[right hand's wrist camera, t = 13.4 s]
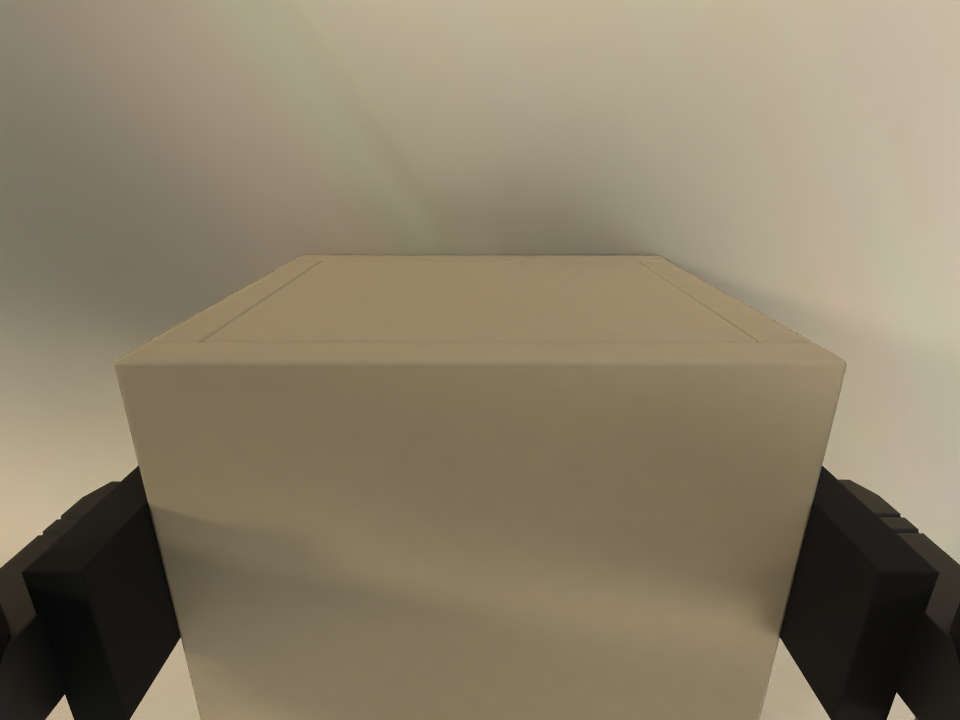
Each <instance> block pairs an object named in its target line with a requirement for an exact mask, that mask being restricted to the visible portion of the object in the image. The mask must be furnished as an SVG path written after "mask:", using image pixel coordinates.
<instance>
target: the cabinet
mask: <svg viewBox="0 0 960 720" xmlns="http://www.w3.org/2000/svg"><path fill="white" fill-rule="evenodd" d="M115 369H116V373H117V377H118V381H119V386H120V390H121V394H122V398H123V402H124V406H125V410H126V414H127V418H128V422H129V427H130V431H131V435H132V439H133V443H134V447H135V451H136V455H137V459H138V463H139V468H140V472H141V476H142V480H143V484H144V488H145V492H146V496H147V500H148V504H149V509H150V513H151V517H152V521H153V525H154V529H155V533H156V537H157V541H158V546H159V550H160V554H161V558H162V562H163V566H164V570H165V574H166V578H167V582H168V587H169V591H170V595H171V599H172V603H173V607H174V611H175V615H176V619H177V623H178V628H179V632H180V636H181V640H182V644H183V648H184V652H185V656H186V660H187V664H188V669H189V673H190V677H191V681H192V685H193V689H194V693H195V697H196V701H197V705H198V710H199V714H200V718H201V720H759V718H760V714H761V710H762V706H763V702H764V698H765V694H766V690H767V686H768V682H769V678H770V674H771V670H772V666H773V662H774V658H775V653H776V649H777V645H778V641H779V637H780V633H781V629H782V625H783V621H784V617H785V613H786V609H787V605H788V601H789V597H790V593H791V589H792V585H793V580H794V576H795V572H796V568H797V564H798V560H799V556H800V552H801V548H802V544H803V540H804V536H805V532H806V528H807V524H808V520H809V516H810V512H811V507H812V503H813V499H814V495H815V491H816V487H817V483H818V479H819V475H820V471H821V467H822V463H823V459H824V455H825V451H826V447H827V443H828V439H829V434H830V430H831V426H832V422H833V418H834V414H835V410H836V406H837V402H838V398H839V394H840V390H841V386H842V382H843V378H844V374H845V370H846V361H845V360H844V359H842V358H840V357H838V356H837V355H835V354H833V353H831V352H829V351H828V350H826V349H824V348H822V347H820V346H819V345H817V344H814V343H811V341H810V340H808V339H806V338H804V337H802V336H801V335H799V334H797V333H795V332H793V331H792V330H790V329H788V328H786V327H785V326H783V325H781V324H779V323H777V322H776V321H774V320H772V319H770V318H768V317H767V316H765V315H763V314H761V313H760V312H758V311H756V310H754V309H752V308H751V307H749V306H747V305H745V304H743V303H742V302H740V301H738V300H736V299H735V298H733V297H731V296H729V295H727V294H726V293H724V292H722V291H720V290H718V289H717V288H715V287H713V286H711V285H710V284H708V283H706V282H704V281H702V280H701V279H699V278H697V277H695V276H693V275H692V274H690V273H688V272H686V271H684V270H683V269H681V268H679V267H677V266H676V265H674V264H672V263H670V262H669V261H668V260H666V259H664V258H662V257H661V256H581V255H301V256H299V257H297V258H296V259H294V260H292V261H291V262H289V263H287V264H286V265H284V266H282V267H280V268H278V269H277V270H275V271H273V272H271V273H270V274H268V275H266V276H264V277H262V278H261V279H259V280H257V281H255V282H253V283H252V284H250V285H248V286H246V287H245V288H243V289H241V290H239V291H237V292H236V293H234V294H232V295H230V296H228V297H227V298H225V299H223V300H221V301H219V302H218V303H216V304H214V305H212V306H211V307H209V308H207V309H205V310H203V311H202V312H200V313H198V314H196V315H194V316H193V317H191V318H189V319H187V320H185V321H184V322H182V323H180V324H178V325H177V326H175V327H173V328H171V329H169V330H168V331H166V332H164V333H162V334H160V335H159V336H157V337H155V338H153V339H152V340H150V341H149V342H148V343H145V344H143V345H141V346H139V347H138V348H136V349H134V350H132V351H131V352H129V353H127V354H125V355H123V356H122V357H120V358H118V359H116V361H115Z"/></svg>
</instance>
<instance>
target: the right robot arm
mask: <svg viewBox="0 0 960 720" xmlns="http://www.w3.org/2000/svg"><path fill="white" fill-rule="evenodd" d="M180 637H181V636H180V632H179V628H178V623H177V619H176V615H175V611H174V607H173V603H172V599H171V595H170V591H169V587H168V582H167V578H166V574H165V570H164V566H163V562H162V558H161V554H160V550H159V546H158V541H157V537H156V533H155V529H154V525H153V521H152V517H151V513H150V509H149V504H148V500H147V496H146V492H145V488H144V484H143V480H142V476H141V472H140V468H139V466H138V467H136V468H135V469H134V470H133V471H132V472H131V473H130V474H129V475H128V476H127V477H126V478H124V479H123V480H122V481H121V482H110V483H108V484H106V485H104V486H103V487H101V488H99V489H97V490H95V491H93V492H91V493H90V494H88V495H86V496H84V497H82V498H81V499H80V500H79V501H78V502H77V503H75V504H74V505H73V506H72V507H71V508H70V509H68V510H67V511H66V512H65V513H64V514H63V515H62V516H61V519H60V520H56V521H55V522H53V523H52V524H51V525H50V526H49V527H48V528H46V529H45V530H44V531H43V535H38V536H37V537H36V538H35V539H34V540H33V541H31V542H30V543H29V544H28V545H27V546H26V547H24V548H23V549H22V550H21V551H20V552H19V553H17V554H16V555H15V556H14V557H13V558H12V559H11V560H9V561H8V562H7V563H6V564H5V565H4V566H2V567H1V568H0V720H45V719H46V718H47V717H48V715H49V714H50V713H51V711H52V710H53V709H54V707H55V706H56V705H57V704H58V702H59V701H60V700H61V698H62V697H63V696H64V694H65V695H66V698H67V701H68V704H69V706H70V709H71V712H72V715H73V718H74V720H130V718H131V716H132V715H133V713H134V712H135V710H136V708H137V707H138V705H139V704H140V702H141V700H142V699H143V697H144V696H145V694H146V692H147V691H148V689H149V687H150V686H151V684H152V683H153V681H154V679H155V678H156V676H157V675H158V673H159V671H160V670H161V668H162V666H163V665H164V663H165V662H166V660H167V658H168V657H169V655H170V654H171V652H172V650H173V649H174V647H175V646H176V644H177V642H178V641H179V639H180ZM780 638H781V640H782V641H783V643H784V645H785V646H786V648H787V649H788V651H789V653H790V654H791V656H792V657H793V659H794V661H795V662H796V664H797V666H798V667H799V669H800V670H801V672H802V674H803V675H804V677H805V678H806V680H807V682H808V683H809V685H810V687H811V688H812V690H813V691H814V693H815V695H816V696H817V698H818V699H819V701H820V703H821V704H822V706H823V707H824V709H825V711H826V712H827V714H828V716H829V717H830V719H831V720H887V717H888V714H889V711H890V709H891V706H892V703H893V700H894V698H895V695H896V692H897V693H898V694H899V696H900V697H901V698H902V700H903V701H904V702H905V704H906V705H907V706H908V707H909V709H910V710H911V711H912V713H913V714H914V715H915V716H916V717H915V720H960V565H959V564H958V563H957V562H956V561H955V560H953V559H952V558H951V557H950V556H949V555H948V554H946V553H945V552H944V551H943V550H942V549H941V548H939V547H938V546H937V545H936V544H935V543H934V542H932V541H931V540H930V539H929V538H928V537H927V536H925V535H924V534H919V532H918V529H917V528H916V527H915V526H914V525H913V524H911V523H910V522H909V521H908V520H907V519H906V518H901V516H900V513H899V512H897V511H896V510H895V509H894V508H893V507H892V506H890V505H889V504H888V503H887V502H886V501H885V500H883V499H882V498H881V497H880V496H879V495H877V494H875V493H873V492H871V491H869V490H868V489H866V488H864V487H862V486H860V485H858V484H856V483H855V482H853V481H851V480H837V479H836V478H835V477H834V476H833V475H832V474H831V473H830V472H829V471H827V470H826V469H825V468H824V467H823V466H822V467H821V471H820V475H819V479H818V483H817V487H816V491H815V495H814V499H813V503H812V507H811V512H810V516H809V520H808V524H807V528H806V532H805V536H804V540H803V544H802V548H801V552H800V556H799V560H798V564H797V568H796V572H795V576H794V580H793V585H792V589H791V593H790V597H789V601H788V605H787V609H786V613H785V617H784V621H783V625H782V629H781V633H780Z"/></svg>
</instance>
